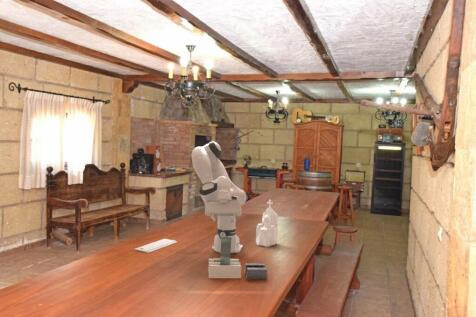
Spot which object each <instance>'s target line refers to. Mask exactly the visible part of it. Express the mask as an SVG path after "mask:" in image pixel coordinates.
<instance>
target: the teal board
mask: <svg viewBox="0 0 476 317" xmlns="http://www.w3.org/2000/svg"><path fill="white" fill-rule="evenodd" d="M231 254H232V253H231V237H228V236H221V253H220V254H219V258H220V265H230V259H232V258H231Z"/></svg>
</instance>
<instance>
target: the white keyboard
mask: <svg viewBox="0 0 476 317" xmlns="http://www.w3.org/2000/svg"><path fill="white" fill-rule="evenodd" d="M176 243H178V241H176V240H175V239H168V238H162V239H159V240H156V241H154V242H151V243H147V244H145V245H142V246H139V247H135V248H134V249H133V250H134V251H136V252H141V253H146V254H150V253H153V252H155V251H158V250H160V249H163V248H166V247H169V246H171V245H174V244H176Z"/></svg>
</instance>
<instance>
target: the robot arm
mask: <svg viewBox="0 0 476 317" xmlns="http://www.w3.org/2000/svg"><path fill="white" fill-rule="evenodd" d="M221 156H222V148H221V146H220V144H219V143H218V142H216V141H214V140H211V141H210V142H208V143H206V144H204V145H203V146H196V147H194V148H193V149H192V150H191V156H190V159H189V160H190V163H191V165H192V167H193V169H194V172H195V173H196V175H197V176H198V178H199V180H200V181H201V183H202V185H201V186H199V190H198V193H199V195H200V197H201V199H202V202H203V203H204V215H205V216H206V217H210V218H211V219H212V221H213V223H216V222H217V228H216V235H215V236H214V239H213V240H214V241H213V245H212V247H211V249H212V250H213V251H214V252H216V253H219V254H221V236H228V237H231V254H234V253H237V254H239V253H240V252H241V250H242V249H243V246H244V245H243V244H240V237H239V236H238V235H237V231H238V227H236V217H241V216H242V214H243V209H242V206H243V205H244V204H246V201H247V194H246V192H245V190H244V189H241V188H239V187H238V186H237V185H235V184H234V183H233V181H232V180H231V179H230V177H229V174H228V172H227V170H226V168H225V166H224V163H222V161H221V160H220V159H221V158H222V157H221Z"/></svg>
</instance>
